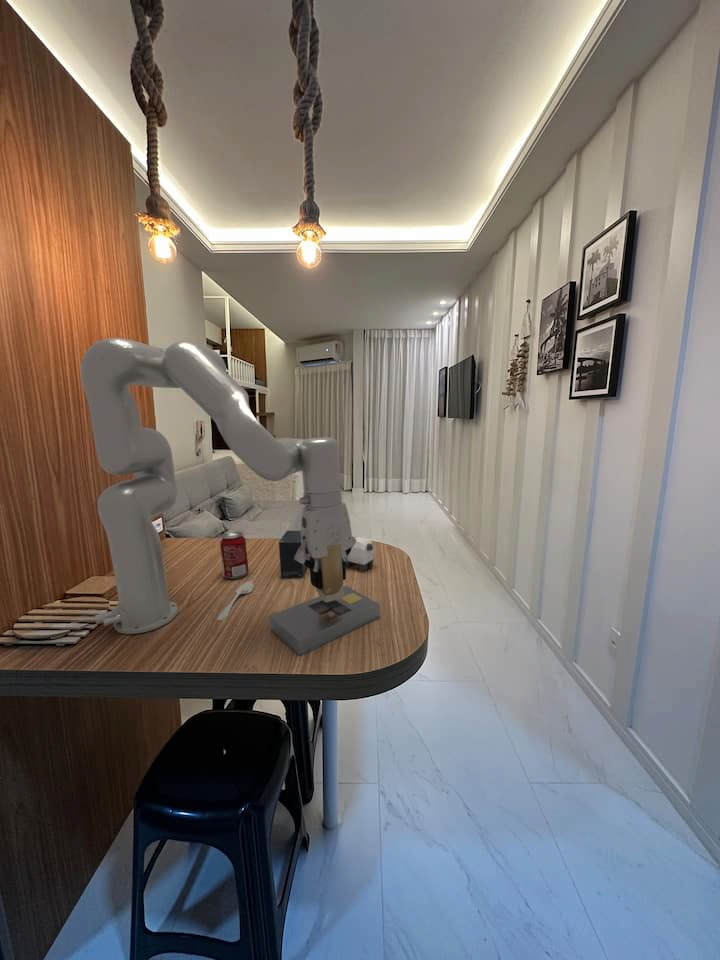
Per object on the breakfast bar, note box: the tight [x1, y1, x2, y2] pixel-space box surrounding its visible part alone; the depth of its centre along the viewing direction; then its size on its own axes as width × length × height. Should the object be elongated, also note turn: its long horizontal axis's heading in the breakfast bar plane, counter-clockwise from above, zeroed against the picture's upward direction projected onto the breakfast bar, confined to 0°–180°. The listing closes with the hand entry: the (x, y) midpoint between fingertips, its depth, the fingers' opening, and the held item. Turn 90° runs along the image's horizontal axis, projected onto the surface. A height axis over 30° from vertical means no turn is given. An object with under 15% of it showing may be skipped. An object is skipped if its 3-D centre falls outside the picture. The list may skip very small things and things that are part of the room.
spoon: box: [217, 580, 254, 621], centre depth 90 cm, size 4×21×2 cm, turn 173°
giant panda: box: [345, 536, 375, 573], centre depth 110 cm, size 15×6×10 cm, turn 56°
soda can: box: [219, 531, 249, 580], centre depth 106 cm, size 7×7×12 cm
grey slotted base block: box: [269, 585, 381, 656], centre depth 81 cm, size 20×12×3 cm, turn 129°
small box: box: [278, 530, 309, 579], centre depth 108 cm, size 11×6×10 cm, turn 179°
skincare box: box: [315, 542, 344, 603], centre depth 79 cm, size 6×4×12 cm
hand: (329, 581), depth 80 cm, fingers closed on skincare box, 5 cm apart
